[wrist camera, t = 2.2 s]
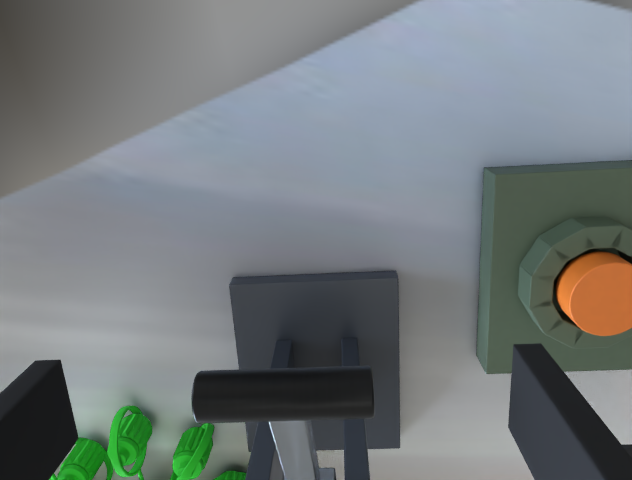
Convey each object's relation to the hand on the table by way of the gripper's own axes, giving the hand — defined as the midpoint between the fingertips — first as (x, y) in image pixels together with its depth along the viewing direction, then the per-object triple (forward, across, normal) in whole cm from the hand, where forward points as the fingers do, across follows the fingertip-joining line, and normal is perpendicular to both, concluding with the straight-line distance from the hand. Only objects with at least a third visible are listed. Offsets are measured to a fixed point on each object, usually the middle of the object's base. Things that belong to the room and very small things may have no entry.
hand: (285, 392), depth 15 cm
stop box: (+16, +15, -3) cm, 22 cm away
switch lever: (+3, 0, -4) cm, 5 cm away
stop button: (+13, +15, -3) cm, 20 cm away
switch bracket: (+16, 0, -9) cm, 19 cm away
